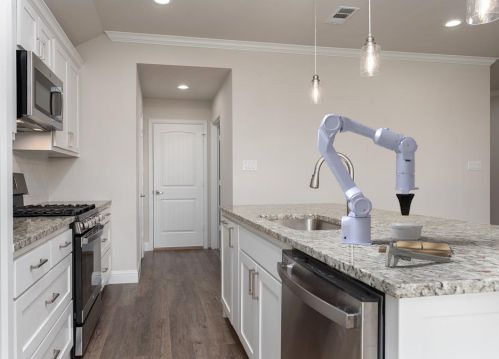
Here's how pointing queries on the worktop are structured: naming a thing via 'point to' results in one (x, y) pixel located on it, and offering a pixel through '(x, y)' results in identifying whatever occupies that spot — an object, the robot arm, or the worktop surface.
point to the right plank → (436, 246)
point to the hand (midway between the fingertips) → (405, 215)
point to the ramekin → (405, 231)
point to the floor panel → (420, 251)
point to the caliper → (408, 256)
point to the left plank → (408, 244)
